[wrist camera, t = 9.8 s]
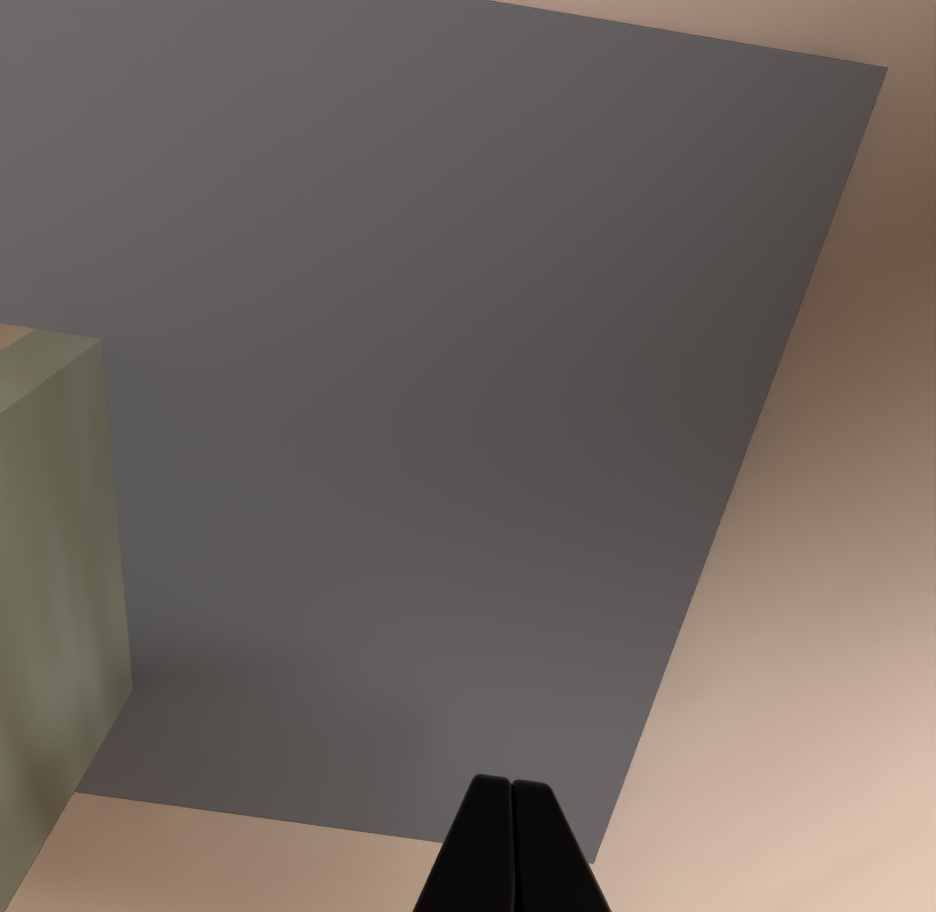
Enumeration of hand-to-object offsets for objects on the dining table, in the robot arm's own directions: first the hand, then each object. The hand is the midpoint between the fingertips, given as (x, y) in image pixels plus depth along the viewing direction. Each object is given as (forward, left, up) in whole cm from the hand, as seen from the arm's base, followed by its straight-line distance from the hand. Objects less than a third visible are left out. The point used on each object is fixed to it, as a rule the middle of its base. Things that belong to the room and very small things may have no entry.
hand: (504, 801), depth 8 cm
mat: (+5, -1, -4) cm, 7 cm away
